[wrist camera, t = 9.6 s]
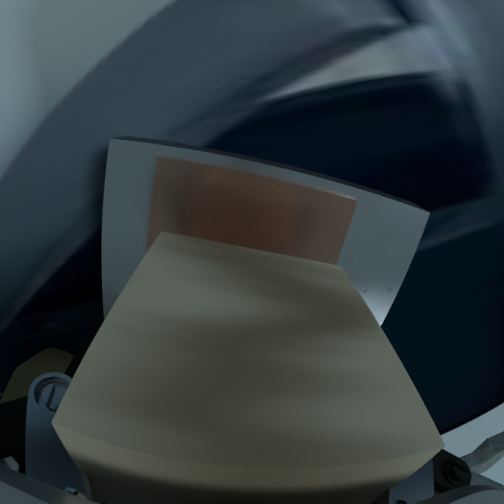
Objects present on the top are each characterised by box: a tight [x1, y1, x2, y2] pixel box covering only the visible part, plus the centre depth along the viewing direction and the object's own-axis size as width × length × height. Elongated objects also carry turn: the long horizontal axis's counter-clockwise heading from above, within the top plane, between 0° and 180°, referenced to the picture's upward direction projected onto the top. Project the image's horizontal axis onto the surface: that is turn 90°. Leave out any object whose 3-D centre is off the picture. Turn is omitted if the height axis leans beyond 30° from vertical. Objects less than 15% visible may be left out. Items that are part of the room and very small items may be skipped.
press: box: [102, 136, 430, 326], centre depth 12 cm, size 16×15×12 cm
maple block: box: [51, 231, 445, 504], centre depth 7 cm, size 6×6×7 cm
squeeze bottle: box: [0, 348, 74, 403], centre depth 12 cm, size 8×8×18 cm
